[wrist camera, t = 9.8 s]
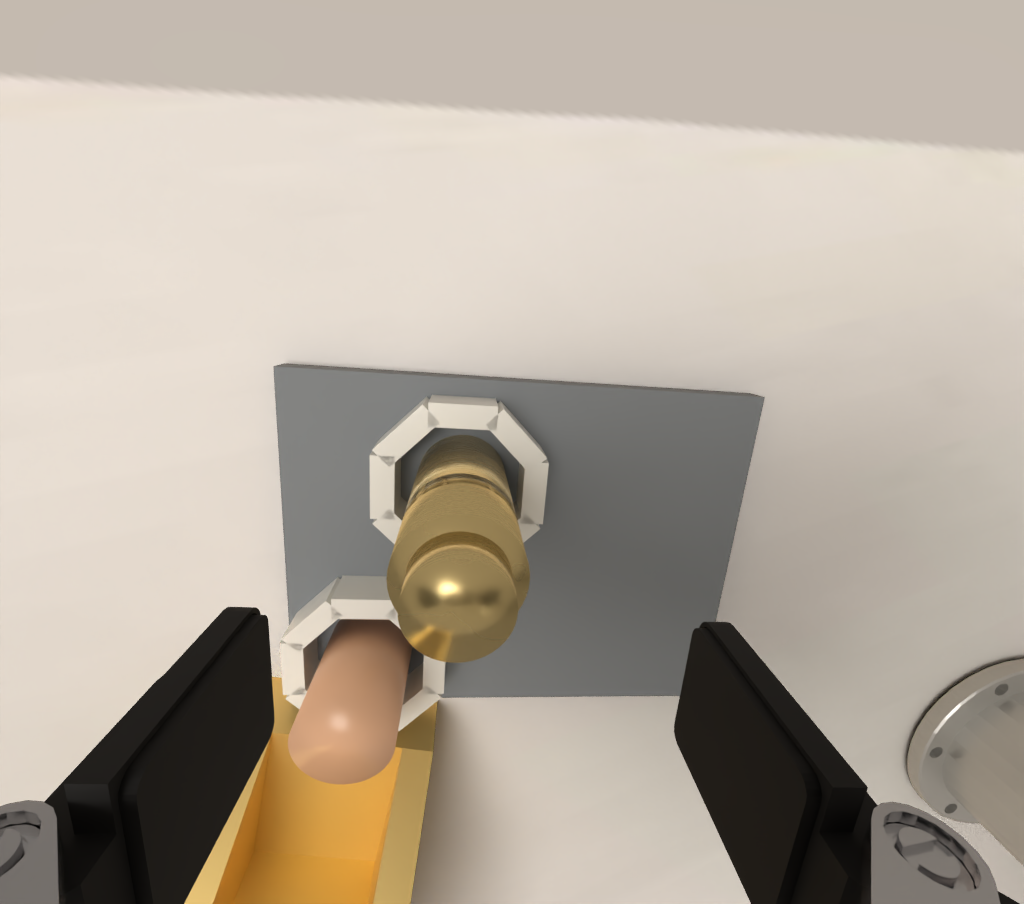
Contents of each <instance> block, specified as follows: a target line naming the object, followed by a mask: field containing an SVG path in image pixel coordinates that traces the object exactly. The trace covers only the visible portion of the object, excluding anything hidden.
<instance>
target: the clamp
mask: <svg viewBox="0 0 1024 904" xmlns="http://www.w3.org/2000/svg"><path fill="white" fill-rule="evenodd" d="M272 687H273V702H274V727H273V732H272V735H271V737H270V740H269V742H268V744H267V745H266V747H265V749H264V751H263V753H262V755H261V757H260V759H259V761H258V763H257V765H256V767H255V768H254V770H253V772H252V774H251V776H250V778H249V780H248V782H247V784H246V786H245V788H244V790H243V792H242V793H241V795H240V797H239V799H238V801H237V803H236V805H235V807H234V809H233V811H232V813H231V815H230V816H229V818H228V820H227V822H226V824H225V826H224V828H223V830H222V832H221V834H220V836H219V838H218V840H217V841H216V843H215V845H214V847H213V849H212V851H211V853H210V855H209V857H208V859H207V861H206V863H205V865H204V866H203V868H202V870H201V872H200V874H199V876H198V878H197V880H196V882H195V884H194V886H193V888H192V889H191V891H190V893H189V895H188V897H187V899H186V901H185V903H184V904H410V903H411V896H412V890H413V883H414V876H415V870H416V863H417V857H418V850H419V843H420V837H421V830H422V823H423V817H424V810H425V803H426V797H427V790H428V784H429V777H430V770H431V764H432V757H433V749H434V737H435V725H436V712H437V702H436V703H434V704H433V705H432V706H430V707H429V708H428V709H427V710H425V711H424V712H423V713H422V714H420V715H419V716H418V717H417V718H415V719H414V720H413V721H412V722H410V723H409V724H408V725H407V726H405V727H404V728H403V729H402V730H400V731H398V734H397V740H396V746H395V751H394V754H393V757H392V759H391V760H390V762H389V764H388V765H387V766H386V767H385V768H384V769H383V770H382V771H381V772H380V773H378V774H377V775H375V776H373V777H371V778H370V779H367V780H365V781H362V782H358V783H353V784H344V785H343V784H330V783H325V782H322V781H319V780H316V779H314V778H312V777H310V776H308V775H307V774H305V773H304V772H303V771H301V770H300V769H299V768H298V767H297V766H296V764H295V763H294V761H293V760H292V758H291V756H290V753H289V749H288V737H289V733H290V731H291V728H292V726H293V723H294V721H295V719H296V716H297V714H298V712H299V709H298V708H297V707H296V706H294V705H293V704H291V703H290V702H289V701H287V700H286V699H285V698H286V696H287V695H283V689H282V678H277V677H272Z"/></svg>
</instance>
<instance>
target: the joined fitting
mask: <svg viewBox="0 0 1024 904" xmlns="http://www.w3.org/2000/svg"><path fill="white" fill-rule="evenodd" d="M386 579H387V576H344V575H343V576H342V578H341V579H339V578H338V577H337V578H336V579H335V580H334V581H333V582H332V583H330V584H329V585H328V586H327V587H326V588H325V589H323V590H322V591H321V592H320V593H319V594H318V595H316V596H315V597H314V598H313V599H312V600H311V601H310V602H308V603H307V604H306V605H305V606H304V607H303V608H301V609H300V610H299V611H298V612H297V613H296V615H295V617H294V618H293V620H292V622H291V623H290V625H289V627H288V629H287V630H286V632H285V634H284V635H283V637H282V640H281V642H280V643H279V645H280V659H281V674H282V689H283V695H287V696H286V698H285V699H286V700H287V701H289V702H290V703H291V704H293V705H294V706H296V707H297V708H298V709H299V712H298V714H297V716H296V719H295V721H294V723H293V726H292V728H291V731H290V733H289V737H288V749H289V753H290V756H291V758H292V760H293V761H294V763H295V764H296V766H297V767H298V768H299V769H300V770H301V771H303V772H304V773H305V774H307V775H308V776H310V777H312V778H314V779H316V780H319V781H322V782H325V783H330V784H343V785H344V784H353V783H358V782H362V781H365V780H367V779H370V778H371V777H373V776H375V775H377V774H378V773H380V772H381V771H382V770H383V769H384V768H385V767H386V766H387V765H388V764H389V762H390V760H391V759H392V757H393V754H394V751H395V746H396V740H397V734H398V731H400V730H402V729H403V728H404V727H405V726H407V725H408V724H409V723H410V722H412V721H413V720H414V719H415V718H417V717H418V716H419V715H420V714H422V713H423V712H424V711H425V710H427V709H428V708H429V707H430V706H432V705H433V704H434V703H436V702H437V701H438V700H439V699H441V698H442V694H444V681H445V666H446V662H442V661H438V660H435V659H432V658H430V657H427V656H425V655H424V662H423V663H422V664H421V665H419V666H418V667H417V668H416V669H415V670H413V671H412V672H411V673H410V674H408V670H409V664H410V658H411V652H412V645H411V644H410V643H409V642H408V641H407V640H406V638H405V637H404V635H403V633H402V631H401V628H400V626H399V622H398V614H397V611H396V610H395V608H394V606H393V605H392V602H391V600H390V597H389V594H388V590H387V580H386ZM338 619H340V620H339V622H338V623H337V625H336V626H335V628H334V630H333V633H332V635H331V637H330V640H329V642H328V644H327V647H326V649H325V651H324V654H323V656H322V658H321V661H319V660H318V644H317V637H318V636H319V635H320V634H321V633H322V632H323V631H325V630H326V629H327V628H328V627H329V626H330V625H332V624H333V623H334V622H335V621H336V620H338Z"/></svg>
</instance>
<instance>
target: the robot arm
mask: <svg viewBox="0 0 1024 904" xmlns="http://www.w3.org/2000/svg"><path fill="white" fill-rule="evenodd" d="M273 727H274V702H273V687H272V672H271V657H270V641H269V626H268V618H267V616H265V615H260V611H259V609H257V608H249V607H227V608H226V609H225V610H223V611H222V612H221V614H220V615H219V616H218V617H217V618H216V619H215V620H214V621H213V622H212V623H211V624H210V626H209V627H208V628H207V629H206V630H205V631H204V632H203V633H202V634H201V635H200V636H199V637H198V639H197V640H196V641H195V642H194V643H193V644H192V645H191V646H190V647H189V648H188V649H187V650H186V652H185V653H184V654H183V655H182V656H181V657H180V658H179V659H178V660H177V661H176V662H175V664H174V665H173V666H172V667H171V668H170V669H169V670H168V671H167V672H166V673H165V674H164V675H163V676H162V677H161V678H160V679H158V680H157V681H156V682H155V683H154V684H153V685H152V686H151V687H150V688H149V690H148V691H147V692H146V693H145V694H144V695H143V696H142V697H141V698H140V699H139V700H138V701H137V703H136V704H135V705H134V706H133V707H132V708H131V709H130V710H129V711H128V712H127V713H126V714H125V715H124V717H123V718H122V719H121V720H120V721H119V722H118V723H117V724H116V725H115V726H114V727H113V728H112V729H111V731H110V732H109V733H108V734H107V735H106V736H105V737H104V738H103V739H102V740H101V741H100V742H99V744H98V745H97V746H96V747H95V748H94V749H93V750H92V751H91V752H90V753H89V754H88V755H87V756H86V758H85V759H84V760H83V761H82V762H81V763H80V764H79V765H78V766H77V767H76V768H75V769H74V771H73V772H72V773H71V774H70V775H69V776H68V777H67V778H66V779H65V780H64V781H63V782H62V783H61V785H60V786H59V787H58V788H57V789H56V790H55V791H54V792H53V793H52V794H51V795H50V796H49V798H48V799H47V800H46V801H45V802H42V801H31V800H26V801H21V802H15V803H9V804H6V805H3V806H0V904H184V903H185V901H186V899H187V897H188V895H189V893H190V891H191V889H192V888H193V886H194V884H195V882H196V880H197V878H198V876H199V874H200V872H201V870H202V868H203V866H204V865H205V863H206V861H207V859H208V857H209V855H210V853H211V851H212V849H213V847H214V845H215V843H216V841H217V840H218V838H219V836H220V834H221V832H222V830H223V828H224V826H225V824H226V822H227V820H228V818H229V816H230V815H231V813H232V811H233V809H234V807H235V805H236V803H237V801H238V799H239V797H240V795H241V793H242V792H243V790H244V788H245V786H246V784H247V782H248V780H249V778H250V776H251V774H252V772H253V770H254V768H255V767H256V765H257V763H258V761H259V759H260V757H261V755H262V753H263V751H264V749H265V747H266V745H267V744H268V742H269V740H270V737H271V735H272V732H273ZM674 732H675V738H676V741H677V744H678V746H679V749H680V751H681V753H682V755H683V757H684V759H685V762H686V764H687V766H688V768H689V770H690V772H691V775H692V777H693V779H694V781H695V783H696V785H697V788H698V790H699V792H700V794H701V796H702V798H703V801H704V803H705V805H706V807H707V809H708V811H709V813H710V816H711V818H712V820H713V822H714V824H715V826H716V829H717V831H718V833H719V835H720V837H721V839H722V842H723V844H724V846H725V848H726V850H727V852H728V855H729V857H730V859H731V861H732V863H733V865H734V868H735V870H736V872H737V874H738V876H739V878H740V881H741V883H742V885H743V887H744V889H745V891H746V894H747V896H748V898H749V900H750V902H751V904H1019V903H1017V902H1016V901H1014V900H1012V899H1010V898H1009V897H1007V896H1005V895H1004V894H1002V893H1000V892H998V891H997V887H996V883H995V880H994V878H993V876H992V873H991V871H990V869H989V867H988V866H987V864H986V863H985V862H984V860H983V859H982V857H981V856H980V855H979V853H978V852H977V851H976V850H975V849H974V848H973V847H972V846H971V845H970V844H969V843H968V842H967V841H966V840H965V839H964V838H963V837H962V836H961V835H959V834H958V833H957V832H955V831H954V830H953V829H951V828H950V827H949V826H948V825H946V824H945V823H944V822H942V821H940V820H938V819H937V818H935V817H933V816H932V815H930V814H928V813H926V812H924V811H922V810H919V809H917V808H914V807H912V806H909V805H906V804H901V803H896V802H888V803H881V804H880V805H877V804H876V803H875V802H874V801H873V799H872V798H871V797H870V796H869V794H868V793H867V792H866V791H867V788H868V787H867V786H866V785H865V784H864V782H863V781H862V780H861V779H860V778H859V776H858V775H857V774H856V773H855V772H854V770H853V769H852V768H851V767H850V766H849V764H848V763H847V762H846V761H845V760H844V758H843V757H842V756H841V755H840V754H839V752H838V751H837V750H836V749H835V748H834V746H833V745H832V744H831V743H830V742H829V740H828V739H827V738H826V737H825V735H824V734H823V733H822V732H821V731H820V729H819V728H818V727H817V726H816V725H815V723H814V722H813V721H812V720H811V719H810V717H809V716H808V715H807V714H806V713H805V711H804V710H803V709H802V708H801V707H800V705H799V704H798V703H797V702H796V701H795V699H794V698H793V697H792V696H791V695H790V693H789V692H788V691H787V690H786V689H785V687H784V686H783V685H782V684H781V683H780V681H779V680H778V679H777V678H776V677H775V675H774V674H773V673H772V672H771V671H770V669H769V668H768V667H767V666H766V665H765V663H764V662H763V661H762V660H761V659H760V657H759V656H758V655H757V654H756V653H755V651H754V650H753V649H752V648H751V647H750V645H749V644H748V643H747V642H746V641H745V639H744V638H743V637H742V636H741V635H740V633H739V632H738V631H737V630H736V629H735V627H734V626H733V625H732V624H731V623H728V622H702V623H701V625H700V627H699V628H695V629H694V630H693V633H692V637H691V642H690V647H689V652H688V658H687V663H686V668H685V673H684V678H683V683H682V688H681V693H680V699H679V704H678V709H677V714H676V719H675V725H674ZM907 765H908V775H909V778H910V782H911V784H912V786H913V787H914V789H915V791H916V792H917V794H918V795H919V796H920V797H921V798H922V799H923V800H924V801H925V802H926V803H927V804H928V805H929V806H930V807H931V808H932V809H933V810H934V811H935V812H937V813H938V814H940V815H941V816H943V817H946V818H949V819H952V820H954V821H958V822H966V823H980V824H981V825H982V826H983V827H984V828H985V829H986V830H988V831H989V832H990V833H991V834H992V835H993V836H994V837H995V838H996V839H997V840H998V841H999V842H1000V843H1001V844H1002V845H1003V846H1004V847H1005V848H1006V849H1007V850H1008V851H1009V852H1010V853H1011V854H1012V855H1013V856H1014V857H1015V858H1016V859H1017V860H1018V861H1019V862H1020V863H1021V864H1022V865H1023V866H1024V659H1018V660H1012V661H1006V662H1003V663H1000V664H996V665H993V666H990V667H987V668H985V669H983V670H981V671H979V672H977V673H975V674H973V675H971V676H969V677H967V678H966V679H964V680H963V681H961V682H960V683H958V684H957V685H955V686H954V687H953V688H951V689H950V690H949V691H948V692H947V693H946V694H944V695H943V696H942V697H941V698H940V699H939V700H938V701H937V702H936V703H935V704H934V705H933V706H932V708H931V709H930V710H929V711H928V712H927V713H926V715H925V716H924V718H923V719H922V721H921V722H920V724H919V725H918V727H917V729H916V731H915V733H914V736H913V738H912V740H911V743H910V747H909V752H908V757H907Z"/></svg>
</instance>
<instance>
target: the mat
mask: <svg viewBox="0 0 1024 904" xmlns="http://www.w3.org/2000/svg"><path fill="white" fill-rule="evenodd" d="M274 382H275V399H276V415H277V432H278V448H279V465H280V481H281V498H282V514H283V530H284V547H285V563H286V580H287V596H288V613H289V625H290V623H291V622H292V620H293V618H294V617H295V615H296V613H297V612H298V611H299V610H300V609H301V608H303V607H304V606H305V605H306V604H307V603H308V602H310V601H311V600H312V599H313V598H314V597H315V596H316V595H318V594H319V593H320V592H321V591H322V590H323V589H325V588H326V587H327V586H328V585H329V584H330V583H332V582H333V581H334V580H335V579H336V578H337V577H338V578H339V579H341V578H342V576H343V575H344V576H387V569H388V565H389V561H390V558H391V555H392V551H393V548H394V545H395V544H394V543H392V542H391V541H390V540H389V539H388V538H387V537H386V536H385V535H384V534H383V533H382V532H381V531H379V530H378V529H377V528H376V527H375V526H374V525H373V524H372V523H373V521H374V519H370V454H371V452H372V449H373V448H374V446H375V445H376V444H377V442H378V441H379V439H380V438H381V437H382V436H383V435H384V434H386V433H387V432H388V431H389V430H390V429H391V428H392V427H393V426H394V425H396V424H397V423H398V422H399V421H400V420H401V419H402V418H403V417H404V416H406V415H407V414H408V413H409V412H410V411H411V410H412V409H413V408H414V407H416V406H417V405H418V404H419V403H420V402H421V401H422V400H423V399H424V398H426V397H428V398H429V399H430V398H431V396H432V395H446V396H463V397H480V398H496V401H497V403H499V402H500V401H501V402H502V403H503V404H504V405H505V406H506V408H507V409H508V410H509V411H510V412H511V413H512V414H513V415H514V417H515V418H516V419H517V420H518V421H519V422H520V423H521V425H522V426H523V427H524V428H525V429H526V430H527V431H528V432H529V434H530V435H531V436H532V437H533V438H534V439H535V440H536V441H537V443H538V444H539V445H540V446H541V448H542V450H543V451H544V453H545V455H546V457H547V461H548V463H549V468H548V478H547V488H546V498H545V508H544V518H543V524H539V527H540V530H538V531H537V532H536V533H535V534H534V535H532V536H531V537H530V538H529V539H527V540H526V541H525V542H524V543H523V544H524V548H525V552H526V555H527V559H528V563H529V569H530V583H529V589H528V593H527V596H526V598H525V600H524V603H523V605H522V606H521V608H520V609H519V611H518V616H517V621H516V624H515V627H514V629H513V631H512V633H511V634H510V636H509V637H508V639H507V640H506V641H505V642H504V643H503V644H502V645H501V646H500V647H499V648H498V649H496V650H495V651H494V652H492V653H490V654H489V655H487V656H485V657H482V658H480V659H477V660H474V661H469V662H462V663H449V662H446V666H445V681H444V694H442V698H451V697H579V696H680V693H681V688H682V683H683V678H684V673H685V668H686V663H687V658H688V652H689V647H690V642H691V637H692V633H693V630H694V629H695V628H699V627H700V625H701V623H702V622H715V621H716V617H717V612H718V607H719V603H720V598H721V594H722V589H723V585H724V580H725V575H726V571H727V566H728V562H729V557H730V553H731V548H732V543H733V539H734V534H735V530H736V525H737V521H738V516H739V512H740V507H741V502H742V498H743V493H744V489H745V484H746V480H747V475H748V470H749V466H750V461H751V457H752V452H753V448H754V443H755V439H756V434H757V429H758V425H759V420H760V416H761V411H762V407H763V402H764V397H761V396H757V395H754V394H750V393H735V392H719V391H703V390H688V389H672V388H657V387H641V386H625V385H610V384H594V383H579V382H563V381H547V380H532V379H516V378H501V377H485V376H469V375H454V374H438V373H423V372H407V371H391V370H376V369H360V368H345V367H329V366H313V365H298V364H281V365H277V366H274ZM453 435H470V436H474V437H477V438H480V439H482V440H484V441H486V442H487V443H488V444H490V445H491V446H492V447H493V448H494V449H495V450H496V451H497V453H498V454H499V456H500V458H501V460H502V462H503V466H504V469H505V473H506V477H507V481H508V485H509V489H510V493H511V497H512V501H513V503H514V502H515V501H516V498H517V486H518V473H519V462H518V461H517V459H516V458H515V457H514V456H513V455H512V454H511V453H510V452H509V451H508V450H507V448H506V447H505V446H504V445H503V444H502V443H501V442H500V441H499V440H498V439H497V438H496V436H495V435H494V434H493V433H492V432H491V431H490V430H475V429H456V428H437V427H435V428H433V429H432V430H431V431H430V432H429V433H428V434H427V435H426V436H424V437H423V438H422V439H421V440H420V441H419V442H418V443H417V444H415V445H414V446H413V447H412V448H411V449H410V450H409V451H407V452H406V453H405V454H404V455H403V456H402V457H401V497H402V498H403V499H404V500H405V501H406V502H407V503H408V500H409V497H410V494H411V491H412V488H413V484H414V481H415V478H416V475H417V472H418V468H419V465H420V462H421V460H422V458H423V456H424V454H425V453H426V452H427V450H428V449H429V448H430V447H431V446H432V445H433V444H435V443H436V442H438V441H439V440H441V439H443V438H446V437H449V436H453ZM339 620H340V619H338V620H336V621H335V622H334V623H333V624H332V625H330V626H329V627H328V628H327V629H326V630H325V631H323V632H322V633H321V634H320V635H319V636H318V637H317V644H318V660H319V661H321V658H322V656H323V654H324V651H325V649H326V647H327V644H328V642H329V640H330V637H331V635H332V633H333V630H334V628H335V626H336V625H337V623H338V622H339ZM423 662H424V654H422V653H420V652H419V651H417V650H416V649H415V648H414V647H413V646H412V652H411V658H410V664H409V670H408V674H410V673H411V672H412V671H413V670H415V669H416V668H417V667H418V666H419V665H421V664H422V663H423Z"/></svg>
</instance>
